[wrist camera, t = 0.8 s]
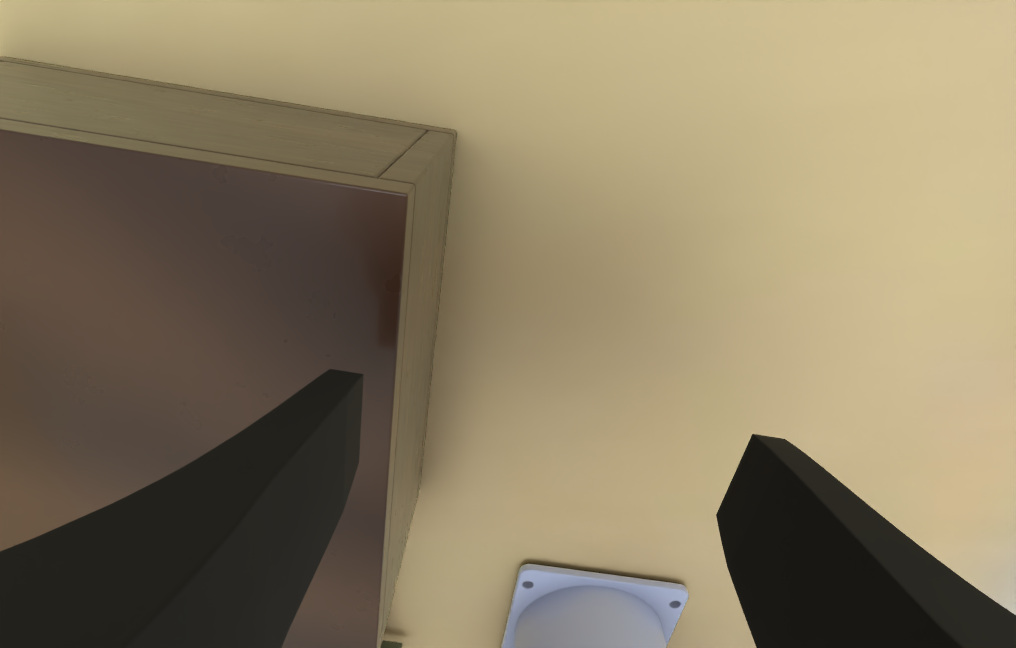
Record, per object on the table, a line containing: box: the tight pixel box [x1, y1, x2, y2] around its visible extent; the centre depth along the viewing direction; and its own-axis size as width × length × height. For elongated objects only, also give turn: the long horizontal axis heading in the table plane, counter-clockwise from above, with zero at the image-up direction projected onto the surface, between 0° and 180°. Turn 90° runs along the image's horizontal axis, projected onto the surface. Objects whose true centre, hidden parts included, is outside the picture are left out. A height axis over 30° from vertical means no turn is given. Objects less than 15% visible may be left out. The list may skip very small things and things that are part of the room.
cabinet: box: [0, 56, 457, 648], centre depth 17 cm, size 15×14×8 cm
